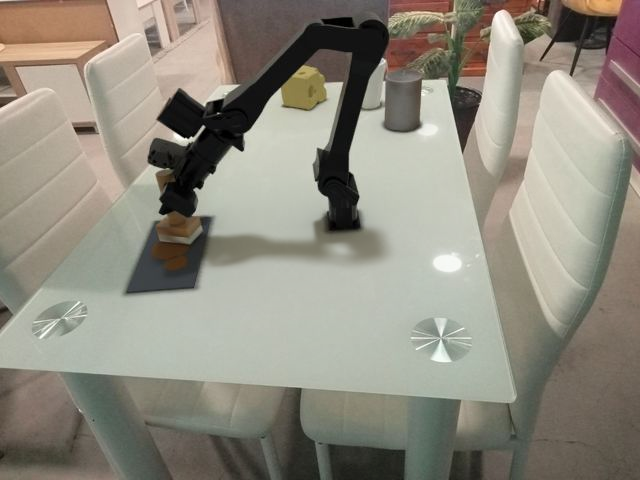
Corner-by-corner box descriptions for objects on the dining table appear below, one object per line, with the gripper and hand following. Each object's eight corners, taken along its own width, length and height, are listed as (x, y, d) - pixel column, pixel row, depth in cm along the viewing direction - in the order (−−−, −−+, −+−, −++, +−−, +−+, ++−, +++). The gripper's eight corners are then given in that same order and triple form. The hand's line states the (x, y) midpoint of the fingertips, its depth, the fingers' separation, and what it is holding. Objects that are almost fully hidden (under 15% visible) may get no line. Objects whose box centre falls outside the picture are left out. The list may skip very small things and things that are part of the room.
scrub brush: (202, 231, 98) (187, 168, 90) (190, 244, 94) (173, 179, 86) (173, 228, 100) (155, 166, 92) (159, 241, 96) (140, 177, 88)
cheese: (327, 99, 153) (325, 67, 147) (308, 111, 146) (306, 78, 140) (300, 94, 158) (297, 63, 152) (281, 106, 151) (277, 74, 145)
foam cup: (350, 102, 150) (348, 59, 142) (377, 97, 151) (377, 54, 144) (361, 112, 142) (360, 68, 134) (389, 107, 144) (390, 63, 136)
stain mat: (193, 287, 85) (193, 286, 85) (126, 292, 85) (125, 291, 85) (211, 217, 102) (210, 216, 102) (155, 222, 102) (155, 220, 102)
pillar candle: (409, 114, 139) (412, 62, 130) (425, 127, 131) (429, 72, 122) (378, 121, 137) (379, 67, 128) (393, 134, 129) (394, 78, 120)
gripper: (175, 105, 91) (135, 163, 97) (156, 149, 76) (110, 214, 82) (225, 139, 95) (183, 192, 102) (216, 187, 81) (167, 245, 87)
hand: (162, 209), depth 93 cm, fingers closed on scrub brush, 3 cm apart
